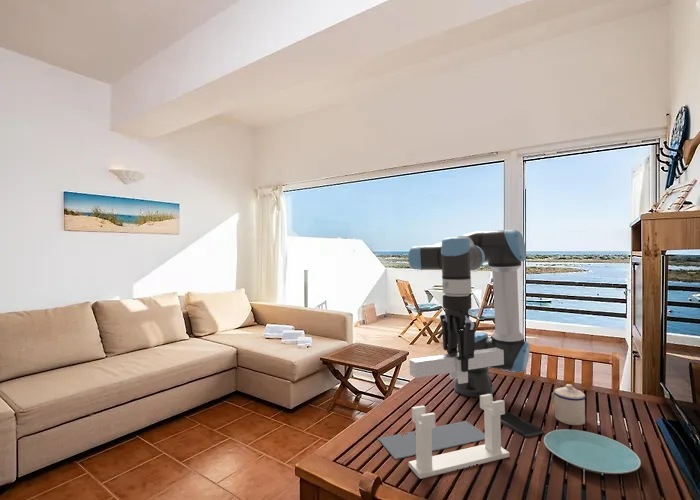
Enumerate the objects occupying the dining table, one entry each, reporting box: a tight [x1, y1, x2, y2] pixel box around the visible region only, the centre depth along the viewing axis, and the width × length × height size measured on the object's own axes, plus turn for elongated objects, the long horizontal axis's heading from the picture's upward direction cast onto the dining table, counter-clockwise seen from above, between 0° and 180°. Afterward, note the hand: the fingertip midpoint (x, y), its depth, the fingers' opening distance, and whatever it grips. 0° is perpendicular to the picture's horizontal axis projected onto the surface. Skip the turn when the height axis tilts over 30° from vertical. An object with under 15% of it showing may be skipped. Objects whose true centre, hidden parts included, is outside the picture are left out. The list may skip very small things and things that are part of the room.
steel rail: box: [409, 348, 504, 379], centre depth 101 cm, size 3×28×4 cm, turn 109°
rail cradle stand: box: [408, 394, 510, 480], centre depth 101 cm, size 6×28×16 cm, turn 109°
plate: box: [543, 428, 642, 475], centre depth 102 cm, size 22×22×3 cm
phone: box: [500, 411, 545, 438], centre depth 121 cm, size 8×1×15 cm
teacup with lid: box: [551, 383, 587, 426], centre depth 125 cm, size 12×9×12 cm
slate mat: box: [377, 420, 485, 461], centre depth 113 cm, size 12×32×1 cm, turn 109°
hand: (458, 380), depth 101 cm, fingers closed on steel rail, 3 cm apart
